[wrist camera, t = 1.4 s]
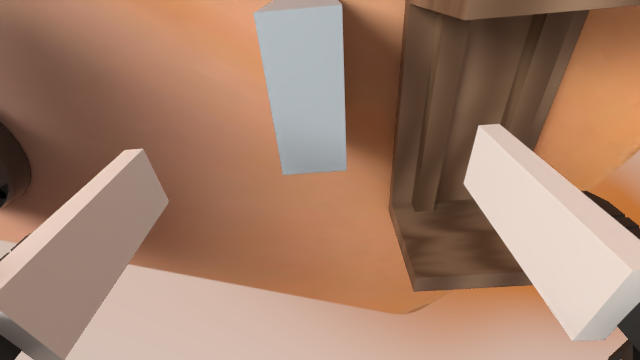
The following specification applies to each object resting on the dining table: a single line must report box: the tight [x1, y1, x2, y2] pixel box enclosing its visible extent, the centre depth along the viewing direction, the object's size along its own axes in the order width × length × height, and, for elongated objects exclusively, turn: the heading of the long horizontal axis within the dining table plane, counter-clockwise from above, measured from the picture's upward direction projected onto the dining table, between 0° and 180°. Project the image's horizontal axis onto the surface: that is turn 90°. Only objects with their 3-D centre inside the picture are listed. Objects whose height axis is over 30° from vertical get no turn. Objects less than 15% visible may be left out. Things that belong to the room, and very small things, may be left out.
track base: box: [389, 0, 640, 292], centre depth 24 cm, size 14×24×11 cm, turn 4°
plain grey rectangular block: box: [254, 0, 347, 175], centre depth 22 cm, size 4×10×10 cm, turn 4°
